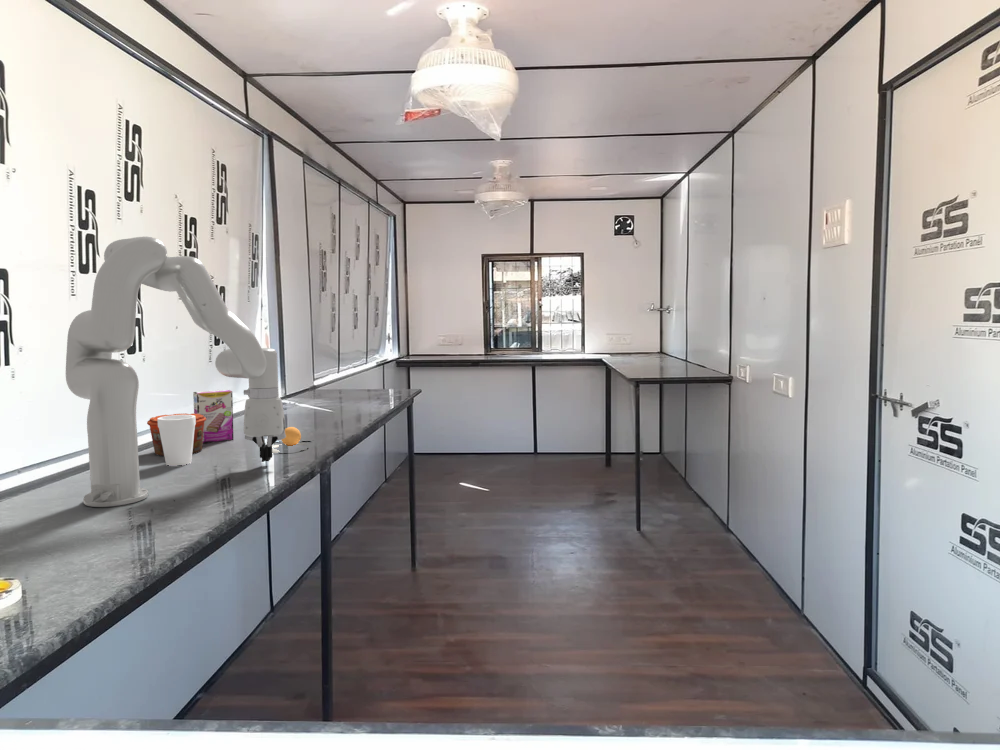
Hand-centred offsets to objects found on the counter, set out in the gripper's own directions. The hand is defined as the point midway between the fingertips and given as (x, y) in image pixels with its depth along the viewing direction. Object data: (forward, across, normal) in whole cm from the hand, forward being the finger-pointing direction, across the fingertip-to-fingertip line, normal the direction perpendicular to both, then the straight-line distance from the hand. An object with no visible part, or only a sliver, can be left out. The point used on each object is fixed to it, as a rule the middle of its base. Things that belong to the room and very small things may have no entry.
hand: (266, 460), depth 183 cm
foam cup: (+2, -25, +5) cm, 26 cm away
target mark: (+2, 0, +22) cm, 22 cm away
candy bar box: (+2, -26, +38) cm, 46 cm away
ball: (-2, +1, +27) cm, 27 cm away
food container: (+2, -31, +21) cm, 37 cm away
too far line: (+2, 0, +34) cm, 34 cm away
